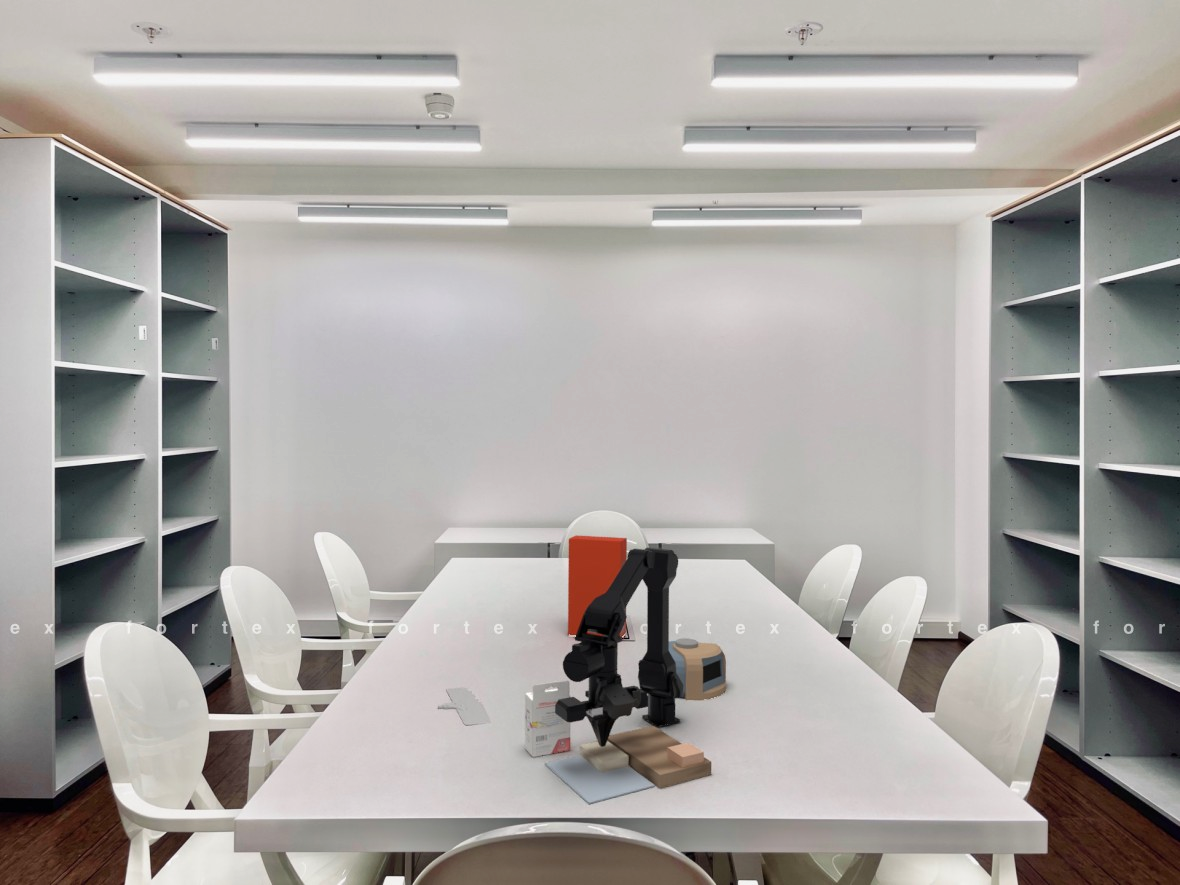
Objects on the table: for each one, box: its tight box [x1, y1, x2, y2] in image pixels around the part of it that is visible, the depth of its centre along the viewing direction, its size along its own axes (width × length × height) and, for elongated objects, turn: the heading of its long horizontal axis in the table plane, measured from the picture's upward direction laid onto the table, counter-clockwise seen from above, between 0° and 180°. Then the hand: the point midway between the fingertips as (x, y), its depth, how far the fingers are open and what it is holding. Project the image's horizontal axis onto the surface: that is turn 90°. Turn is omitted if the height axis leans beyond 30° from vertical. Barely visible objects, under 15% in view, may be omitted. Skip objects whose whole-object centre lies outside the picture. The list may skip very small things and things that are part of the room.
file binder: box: [567, 535, 628, 638], centre depth 241 cm, size 8×17×32 cm, turn 73°
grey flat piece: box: [437, 686, 492, 726], centre depth 181 cm, size 25×24×1 cm
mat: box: [544, 754, 656, 805], centre depth 143 cm, size 18×14×1 cm
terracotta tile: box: [667, 742, 705, 768], centre depth 144 cm, size 5×5×2 cm
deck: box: [607, 725, 712, 789], centre depth 150 cm, size 20×12×2 cm, turn 29°
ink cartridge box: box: [524, 679, 571, 758], centre depth 154 cm, size 9×5×15 cm, turn 114°
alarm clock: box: [669, 637, 727, 701], centre depth 194 cm, size 19×20×12 cm
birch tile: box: [579, 740, 629, 772], centre depth 149 cm, size 9×6×2 cm, turn 29°
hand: (602, 745), depth 149 cm, fingers closed
